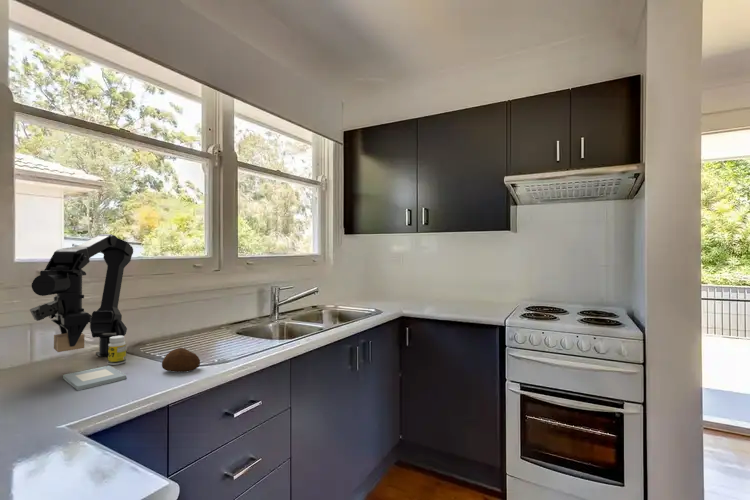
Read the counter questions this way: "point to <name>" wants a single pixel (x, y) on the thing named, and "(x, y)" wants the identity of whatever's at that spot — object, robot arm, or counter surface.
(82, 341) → the walnut block
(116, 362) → the supplement bottle
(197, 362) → the potato
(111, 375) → the build board
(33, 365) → the counter surface
